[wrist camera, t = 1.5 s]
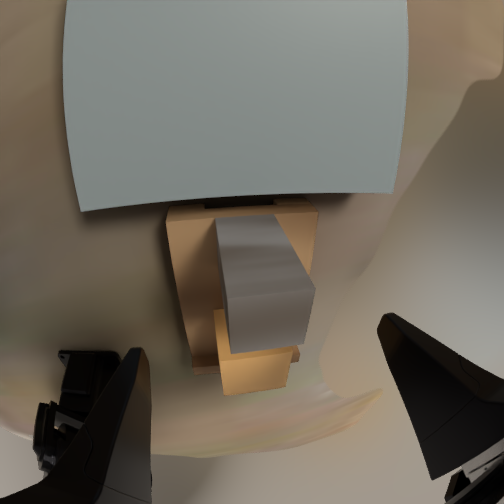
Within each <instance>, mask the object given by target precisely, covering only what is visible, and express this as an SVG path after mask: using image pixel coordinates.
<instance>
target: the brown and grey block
mask: <svg viewBox="0 0 504 504" xmlns="http://www.w3.org/2000/svg"><path fill="white" fill-rule="evenodd" d="M317 220H318V211H317V210H316V209H315V208H314V206H313V205H312V204H311V203H310V202H309V201H308V200H307V199H306V198H289V199H274V201H273V205H261V206H243V207H227V208H213V209H205V207H204V203H201V204H188V205H177V206H169V210H168V214H167V219H166V227H167V234H168V240H169V247H170V253H171V259H172V265H173V270H174V276H175V281H176V287H177V292H178V297H179V302H180V307H181V311H182V316H183V321H184V325H185V330H186V334H187V338H188V343H189V347H190V351H191V355H192V367H193V371H194V375H200V374H212V373H221V370H220V363H219V355H218V347H217V339H216V330H215V321H214V312H213V310H218V309H224V313H225V319H226V326H227V333H228V339H229V345H230V351H231V354H237V353H246V352H254V351H261V350H268V349H275V348H281V347H288V346H291V347H292V350H293V354H292V359H291V363H293V362H298V361H299V357H300V353H299V350H298V347H297V345H299V344H304V340H305V336H306V332H307V327H308V323H309V318H310V314H311V309H312V304H313V299H314V294H315V289H316V288H315V286H314V284H313V283H312V281H311V279H310V277H309V274H310V268H311V262H312V255H313V248H314V242H315V235H316V228H317Z"/></svg>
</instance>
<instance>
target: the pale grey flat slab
mask: <svg viewBox="0 0 504 504" xmlns="http://www.w3.org/2000/svg"><path fill="white" fill-rule="evenodd" d="M407 80H408V15H407V1H406V0H67V7H66V16H65V26H64V41H63V94H64V110H65V121H66V131H67V139H68V146H69V153H70V160H71V166H72V172H73V177H74V182H75V187H76V192H77V197H78V201H79V205H80V210H81V212H83V211H90V210H97V209H104V208H112V207H119V206H127V205H136V204H145V203H154V202H164V201H175V200H186V199H198V198H211V197H226V196H243V195H263V194H291V193H393V189H394V184H395V179H396V173H397V168H398V162H399V156H400V149H401V142H402V135H403V127H404V118H405V108H406V96H407Z"/></svg>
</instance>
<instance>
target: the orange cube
mask: <svg viewBox="0 0 504 504" xmlns="http://www.w3.org/2000/svg"><path fill="white" fill-rule="evenodd" d="M213 312H214V321H215V330H216V339H217V347H218V355H219V363H220V370H221V378H222V385H223V392H224V396H226V395H235V394H243V393H251V392H258V391H265V390H271V389H277V388H282V387H285V386H286V382H287V377H288V373H289V368H290V363H291V359H292V354H293V350H292V347H291V346H288V347H281V348H275V349H268V350H261V351H254V352H246V353H237V354H231V351H230V345H229V339H228V333H227V326H226V319H225V313H224V309H218V310H213Z"/></svg>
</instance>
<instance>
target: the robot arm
mask: <svg viewBox="0 0 504 504" xmlns="http://www.w3.org/2000/svg"><path fill="white" fill-rule="evenodd" d="M377 334H378V337H379V340H380V343H381V346H382V349H383V352H384V355H385V358H386V361H387V364H388V366H389V369H390V371H391V373H392V375H393V378H394V380H395V382H396V385H397V387H398V390H399V392H400V394H401V397H402V399H403V401H404V404H405V407H406V409H407V412H408V414H409V417H410V420H411V422H412V425H413V428H414V430H415V433H416V436H417V438H418V441H419V443H420V447H421V450H422V453H423V456H424V459H425V462H426V465H427V468H428V471H429V474H430V477H431V480H434V479H437V478H439V477H441V476H443V475H445V474H447V473H449V472H450V471H452V470H454V469H456V468H458V467H460V466H461V467H462V469H460V470H459V471H458V472H456V473H455V474H454V475H452V476H451V480H450V483H449V486H448V489H447V492H446V494H445V501H446V503H445V504H504V379H502V378H499V377H498V376H496V375H494V374H492V373H490V372H488V371H486V370H484V369H482V368H481V367H479V366H477V365H475V364H474V363H472V362H470V361H469V360H467V359H465V358H464V357H462V356H461V355H458V353H456V352H455V351H453V350H452V349H450V348H448V347H447V346H445V345H444V344H442V343H441V342H439V341H438V340H436V339H434V338H433V337H431V336H430V335H428V334H426V333H425V332H423V331H422V330H420V329H419V328H417V327H415V326H414V325H412V324H411V323H409V322H407V321H406V320H404V319H403V318H401V317H399V316H398V315H396V314H395V313H387V314H384V315H383V316H382V318H381V321H380V323H379V325H378V328H377ZM58 357H59V359H60V360H61V361H62V363H63V364H64V365H65V367H66V370H65V373H64V377H63V381H62V385H61V396H60V401H59V405H57V403H55V402H53V401H50V403H49V404H47V403H46V404H45V403H39V406H38V410H37V415H36V420H35V426H34V436H33V450H34V452H35V453H36V455H37V461H38V466H39V470H42V471H44V477H43V480H42V481H40V482H39V483H37V484H35V485H32V486H30V487H28V488H26V489H23V490H21V491H19V492H16V493H14V494H11V495H9V496H6V497H3V498H0V504H151V503H152V498H151V492H152V491H151V487H152V474H151V466H150V443H151V407H152V404H151V388H150V367H149V362H148V359H147V357H146V354H145V352H144V350H143V348H141V347H135V348H131V349H130V350H129V351H128V353H127V354H126V356H125V357H124V359H123V360H121V358H120V356H119V355H118V354H117V353H115V352H88V351H62V350H61V351H59V353H58ZM54 426H56V427H59V428H58V430H57V429H55V428H54Z"/></svg>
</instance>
